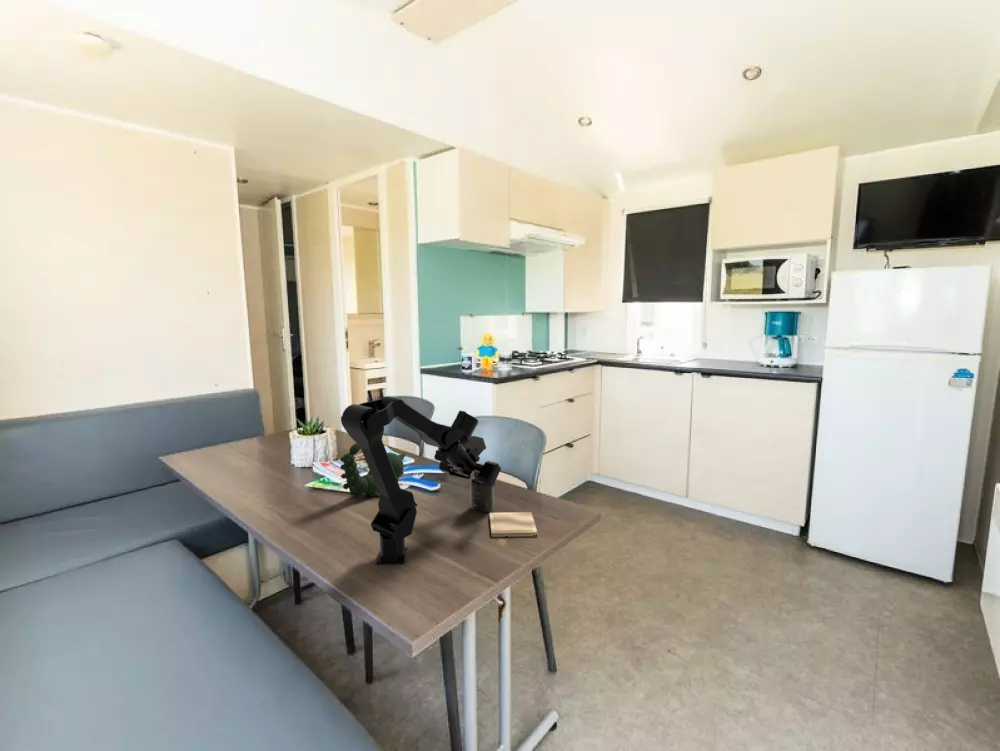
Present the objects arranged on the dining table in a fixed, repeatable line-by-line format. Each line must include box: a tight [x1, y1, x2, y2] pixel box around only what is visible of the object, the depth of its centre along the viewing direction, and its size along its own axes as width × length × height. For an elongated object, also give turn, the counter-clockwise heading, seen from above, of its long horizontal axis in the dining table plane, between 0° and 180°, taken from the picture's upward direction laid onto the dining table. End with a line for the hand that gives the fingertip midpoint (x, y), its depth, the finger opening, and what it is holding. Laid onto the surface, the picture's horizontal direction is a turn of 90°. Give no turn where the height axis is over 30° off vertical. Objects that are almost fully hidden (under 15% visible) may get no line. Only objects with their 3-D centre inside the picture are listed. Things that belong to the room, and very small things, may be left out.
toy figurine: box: [339, 442, 406, 499], centre depth 150 cm, size 9×19×25 cm
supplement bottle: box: [470, 471, 495, 514], centre depth 138 cm, size 7×7×12 cm
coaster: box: [489, 511, 538, 538], centre depth 129 cm, size 12×12×1 cm
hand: (481, 481), depth 138 cm, fingers open, 9 cm apart
